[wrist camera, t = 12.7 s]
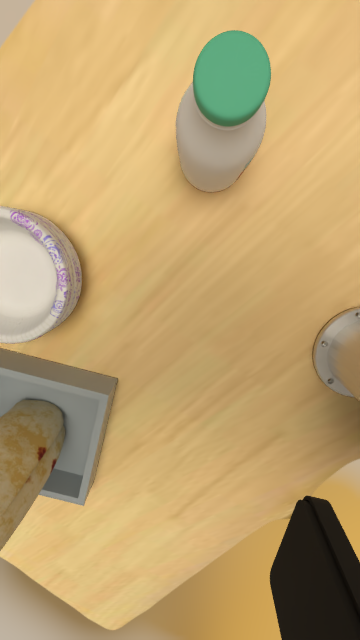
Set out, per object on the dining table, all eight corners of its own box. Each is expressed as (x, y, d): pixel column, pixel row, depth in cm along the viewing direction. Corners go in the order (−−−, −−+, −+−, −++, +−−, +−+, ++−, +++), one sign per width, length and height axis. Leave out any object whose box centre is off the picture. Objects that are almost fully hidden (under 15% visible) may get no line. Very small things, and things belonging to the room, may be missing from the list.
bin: (117, 378, 45) (108, 395, 40) (94, 479, 50) (83, 505, 45) (-6, 346, 45) (-30, 359, 40) (-18, 451, 49) (-41, 474, 45)
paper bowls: (-46, 258, 42) (-100, 263, 34) (37, 185, 39) (-1, 172, 32) (31, 347, 45) (-3, 369, 37) (114, 284, 42) (96, 295, 34)
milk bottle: (218, 206, 39) (244, 174, 20) (167, 167, 38) (140, 94, 19) (258, 149, 37) (329, 53, 18) (205, 107, 36) (219, -42, 17)
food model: (7, 409, 46) (-125, 531, 27) (38, 382, 45) (-79, 490, 26) (56, 453, 48) (-37, 599, 29) (86, 428, 47) (11, 563, 27)
